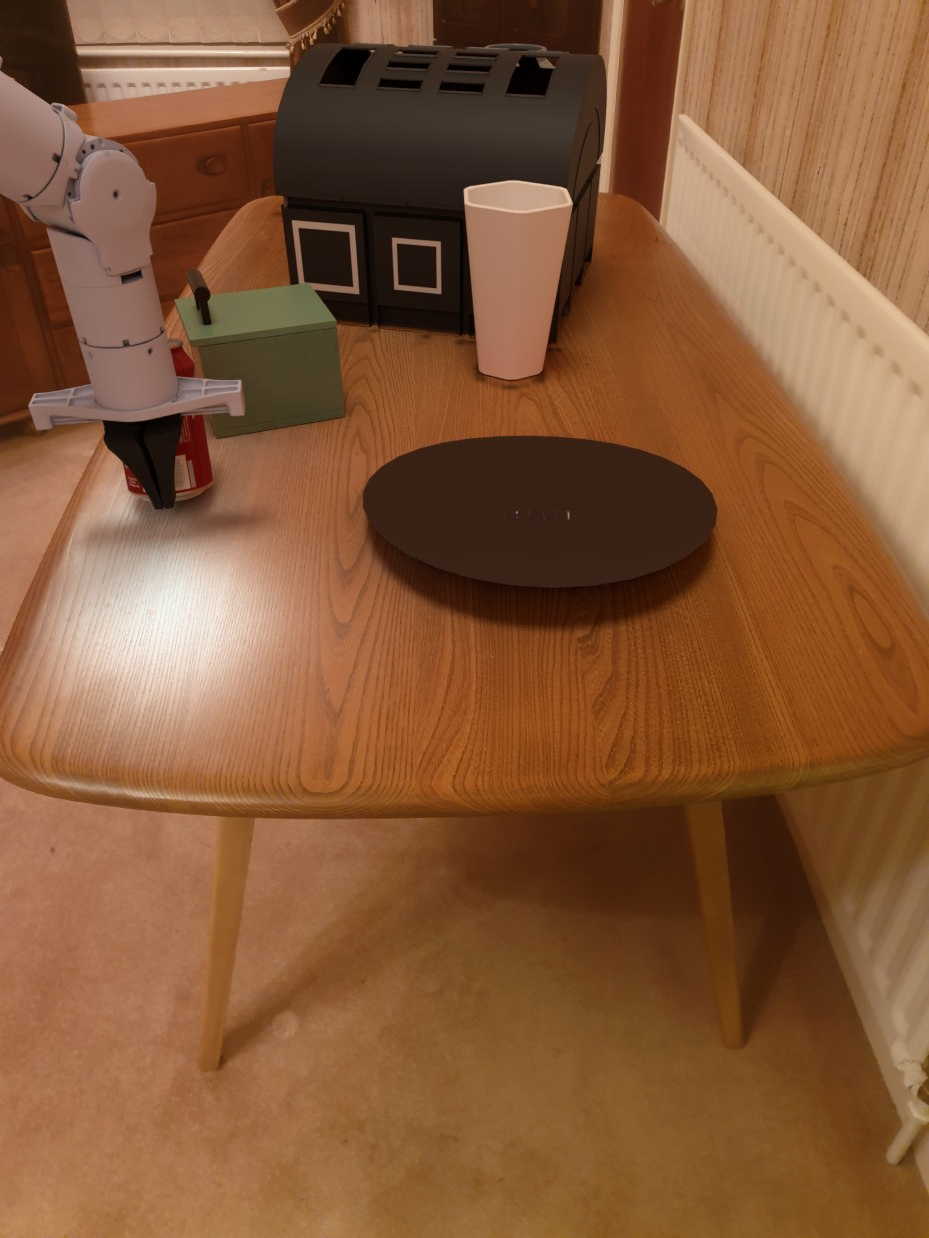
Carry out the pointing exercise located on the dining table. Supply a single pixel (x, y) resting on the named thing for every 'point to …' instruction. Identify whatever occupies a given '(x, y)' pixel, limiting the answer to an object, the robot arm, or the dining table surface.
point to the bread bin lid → (249, 312)
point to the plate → (540, 510)
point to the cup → (515, 271)
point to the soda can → (184, 443)
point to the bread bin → (276, 379)
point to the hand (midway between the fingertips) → (165, 502)
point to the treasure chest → (427, 171)
